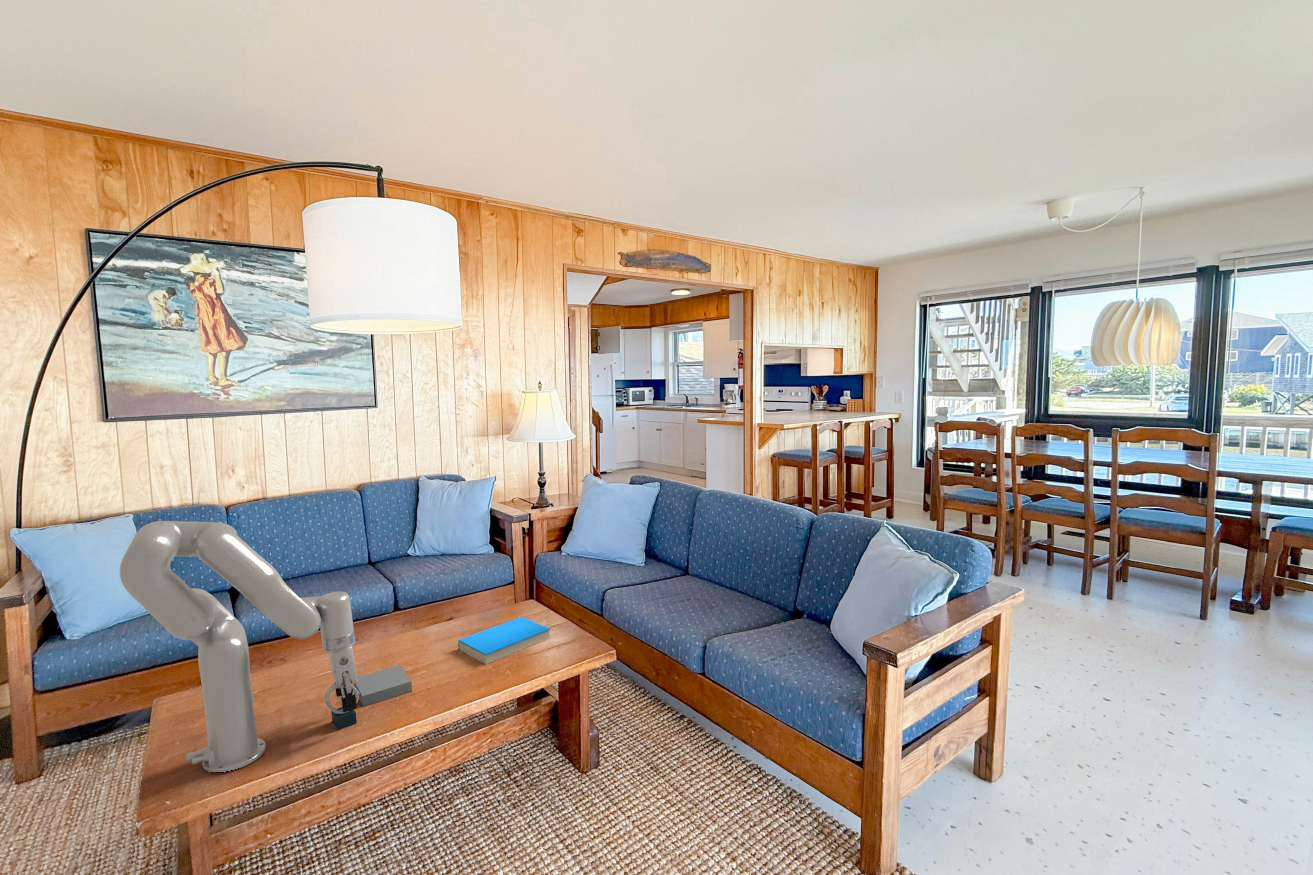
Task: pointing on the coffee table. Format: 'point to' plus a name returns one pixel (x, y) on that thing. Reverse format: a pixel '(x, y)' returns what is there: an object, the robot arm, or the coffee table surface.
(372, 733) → the coffee table surface
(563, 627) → the coffee table surface
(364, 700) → the plinth
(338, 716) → the watch
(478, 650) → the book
